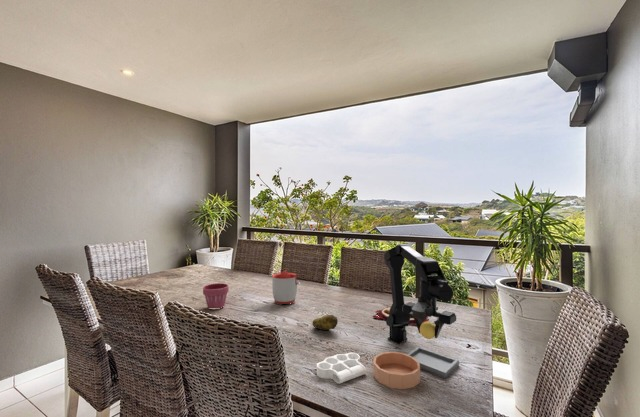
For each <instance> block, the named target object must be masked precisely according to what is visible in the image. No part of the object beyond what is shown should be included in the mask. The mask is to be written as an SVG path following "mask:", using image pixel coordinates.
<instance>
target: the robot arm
mask: <svg viewBox="0 0 640 417" xmlns="http://www.w3.org/2000/svg"><path fill="white" fill-rule="evenodd" d="M383 256H384V257H383V258H384V261H385V265H386V266H387V268H388V269H389V272H390V273H389V276H390V285H391V286H390V287H391V297H392V304H391V306H390V307H391V308H390V315H389V316H388V318H387V319H386V321H385V322H386V324H385V325H386V326H388V328H389V337H387V340H388V341H391V342H394V343H397V344H402V343H403V342H405V341H407V340H408V337H407V328H406V327H409V326H410V325H409V322H410V316H411V317H412V318H413V319H414V320H415V322H416V323H415V324H416V325H415V326H416V327H417V331H418V333H419V334H421V333H420V326H421V324H422V321H423V320H424V319H427V318H426V317H427V316H428V318H432V317H434V318H436V320H434V321H433V324H434V325H435V337H434V338H435V339H437V338H438V337H439V335H440V333H441V330H442V328H443V326H444V325H449V326H451V325H452V324H454V323H455V322H457V315H456V313H455V312H453V311H449V310H444V311H442V312H440V311H438V310H439V307H438V306H437V300H440V301H441V302H445V303H446V302H447V303H448V302H450V301H451V300H452V298H453V297H454V290H453V288H452V287H451V285H449V281H447V280H446V277H445V273H443V271H442V268H441V266H440V264H439V262H438V261H437V260H436V259H433V258H431V257H427V256H423V255H422V254H421V253H419V252H417V251H416V250H415V249H414V248H412V247H411V246H410V245H409V244H407V243H406V244H405V243H401V244H397V245H396V246H394V247H392V248H390V249H388V250H386V251H385V252H384V254H383ZM405 259H406V260H407V261H408V262H409V263H411V264H412V265H413V266H414V270H415V271H416V272H417V274H418V276H417V277H416V279H417V280H419V292H420V293H419V296H418V298H417V302H416V303H415V302H412V301H409V302H407V303H405V296H404V287H403V286H404V285H403V276H402V275H403V274H402V268H403V267H404V265H405Z"/></svg>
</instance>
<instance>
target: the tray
mask: <svg viewBox="0 0 640 417" xmlns="http://www.w3.org/2000/svg"><path fill="white" fill-rule="evenodd" d="M406 355H409V356H412V357H414V358H415V359H416V360H417V361H418V362H419V363H420V370H423V371H426V372H428V373H430V374H433V375H436V376H438V377H441V378H443V379H446V378H448V377H449V375H451V374H452V373H453V372H454V371H455V370H457V368H458V367H459V366H460V360H459V359H456V358H453V357H451V356H448V355H444V354H442V353H439V352H437V351H432V350H429V349H427V348H423V347H421V346H417V347H416V348H414V349H413V350H410V351H409V352H408V353H406Z"/></svg>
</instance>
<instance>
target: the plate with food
mask: <svg viewBox="0 0 640 417" xmlns="http://www.w3.org/2000/svg"><path fill="white" fill-rule="evenodd" d="M388 307H389V308H388ZM390 308H391V306H386V307H385V308H382V309H379V310H378V309H377V311H375V314H374V315H372V318H375V319H377V320H378V319H380V320H383V321H385V322H386V319H387V318H388V316H389V315H390ZM376 315H378V316H379V317H378V316H376ZM429 319H430V318H429V317H428V316H427V318H426V319H424V320H423V321H422V323H423V322H429ZM409 326H417V325H416V322H415V320H414V319H413V318H412V317H411V316H410V322H409Z"/></svg>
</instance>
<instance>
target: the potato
mask: <svg viewBox="0 0 640 417" xmlns="http://www.w3.org/2000/svg"><path fill="white" fill-rule="evenodd" d="M338 323H339V321H338V318H337V317H336V316H335V315H333V314H326V315H323V316H321V317H318V318H315V319H313V321H312V326H313V328H315V329H320V330H322V331H329V330H334V329H335V328H336V327H337V326H338Z"/></svg>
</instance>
